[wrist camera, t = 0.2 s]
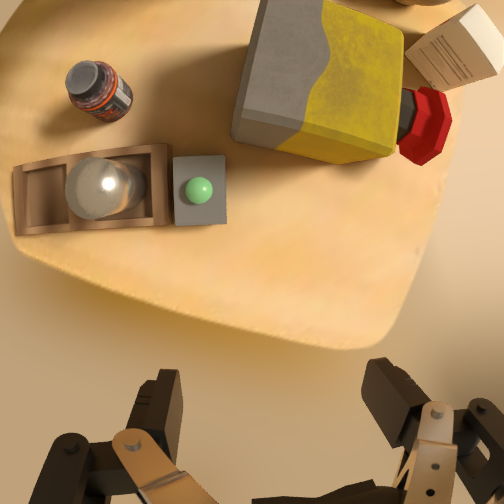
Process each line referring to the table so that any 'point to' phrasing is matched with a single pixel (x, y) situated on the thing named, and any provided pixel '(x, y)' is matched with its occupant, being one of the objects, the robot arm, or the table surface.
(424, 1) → the planter bowl
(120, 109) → the supplement bottle
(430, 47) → the supplement box
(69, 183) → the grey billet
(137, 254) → the table surface
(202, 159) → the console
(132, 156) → the brown wooden tray
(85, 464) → the robot arm
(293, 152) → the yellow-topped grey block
